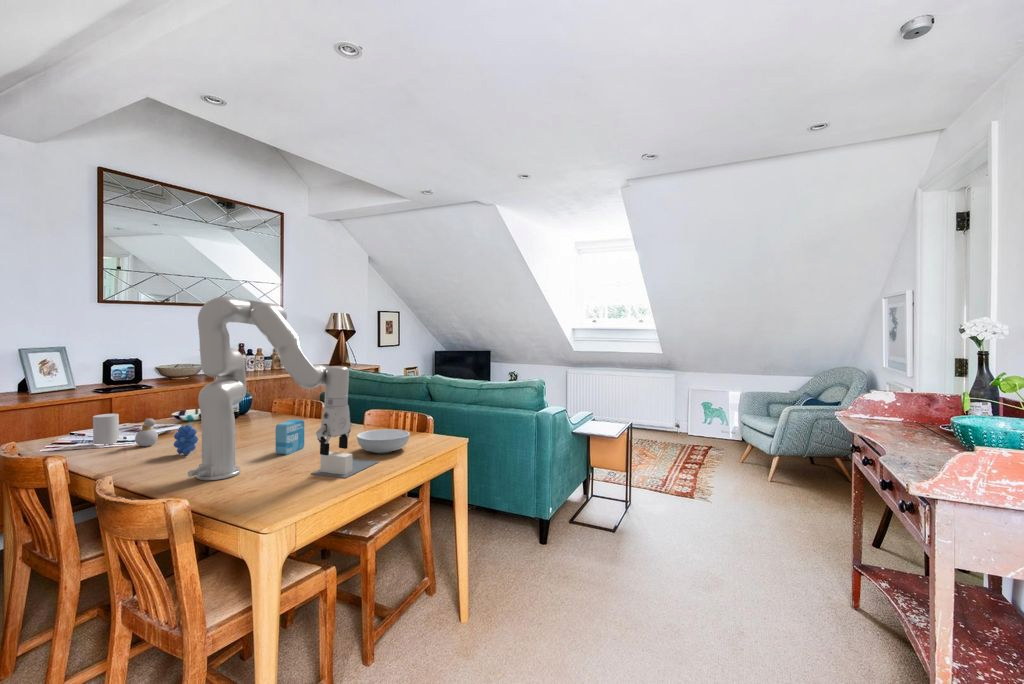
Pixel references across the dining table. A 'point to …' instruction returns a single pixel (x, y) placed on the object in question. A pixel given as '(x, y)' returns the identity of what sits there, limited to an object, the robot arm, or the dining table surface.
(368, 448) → the serving bowl
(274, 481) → the dining table surface
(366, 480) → the dining table surface
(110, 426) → the cup
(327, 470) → the white rectangular block
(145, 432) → the perfume bottle
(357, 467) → the mat
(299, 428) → the data package
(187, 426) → the grapes
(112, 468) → the dining table surface
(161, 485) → the dining table surface
